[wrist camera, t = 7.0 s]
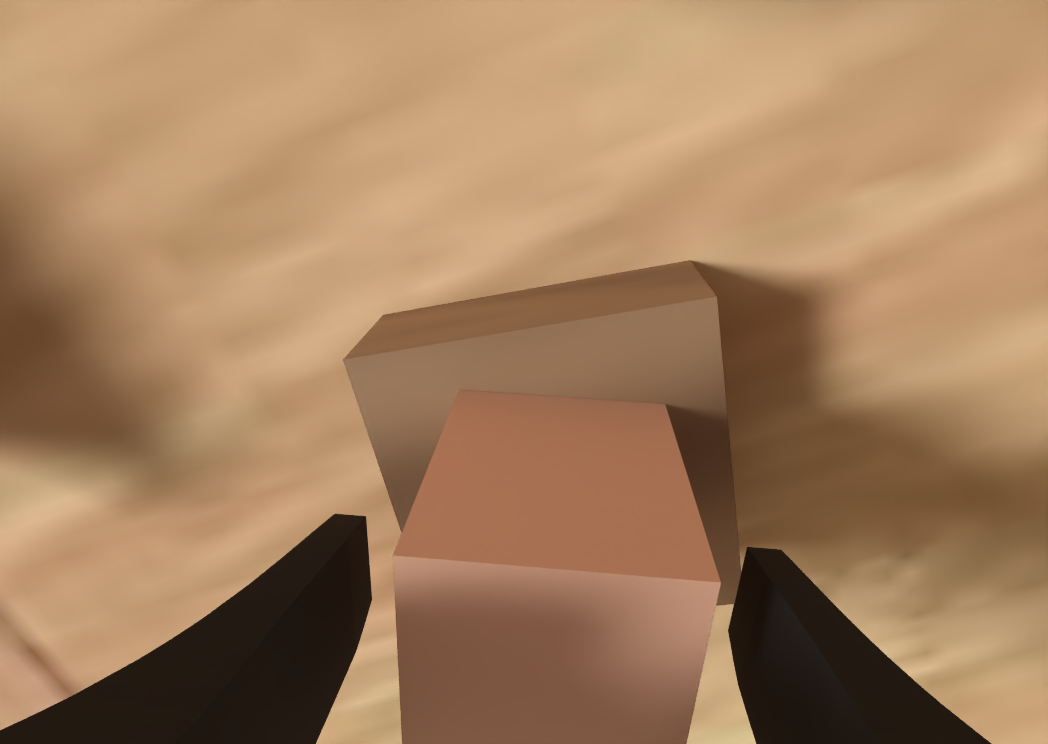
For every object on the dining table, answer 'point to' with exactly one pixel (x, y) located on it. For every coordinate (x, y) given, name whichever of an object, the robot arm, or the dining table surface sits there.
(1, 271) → the dining table surface
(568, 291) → the walnut slab
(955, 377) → the dining table surface
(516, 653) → the terracotta block
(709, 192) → the dining table surface
